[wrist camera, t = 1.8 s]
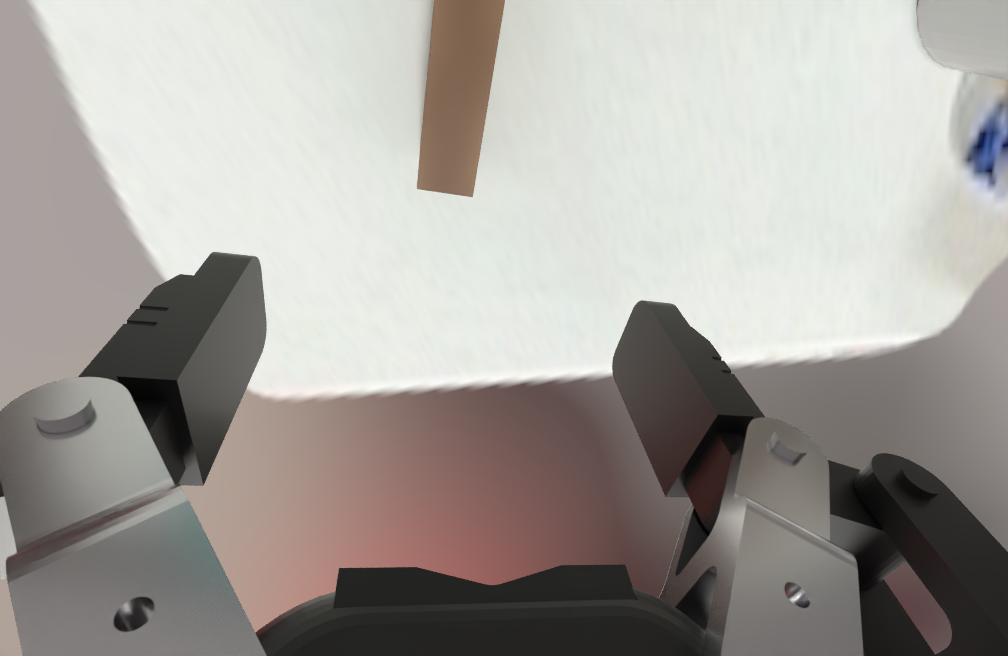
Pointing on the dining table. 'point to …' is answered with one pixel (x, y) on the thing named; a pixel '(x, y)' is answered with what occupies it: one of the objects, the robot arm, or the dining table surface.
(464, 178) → the brown wooden plank
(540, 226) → the dining table surface
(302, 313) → the dining table surface
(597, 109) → the dining table surface
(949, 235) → the dining table surface
